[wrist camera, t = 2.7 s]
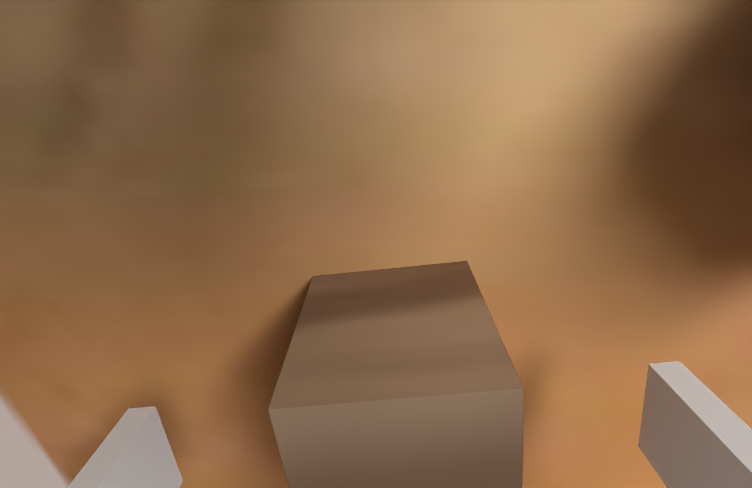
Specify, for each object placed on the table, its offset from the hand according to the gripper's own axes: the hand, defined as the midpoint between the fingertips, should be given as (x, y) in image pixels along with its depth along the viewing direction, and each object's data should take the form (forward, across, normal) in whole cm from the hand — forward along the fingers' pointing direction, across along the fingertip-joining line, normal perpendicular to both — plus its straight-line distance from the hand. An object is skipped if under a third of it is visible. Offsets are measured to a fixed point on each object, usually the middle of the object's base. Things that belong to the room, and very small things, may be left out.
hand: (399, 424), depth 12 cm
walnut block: (+4, 0, +1) cm, 4 cm away
